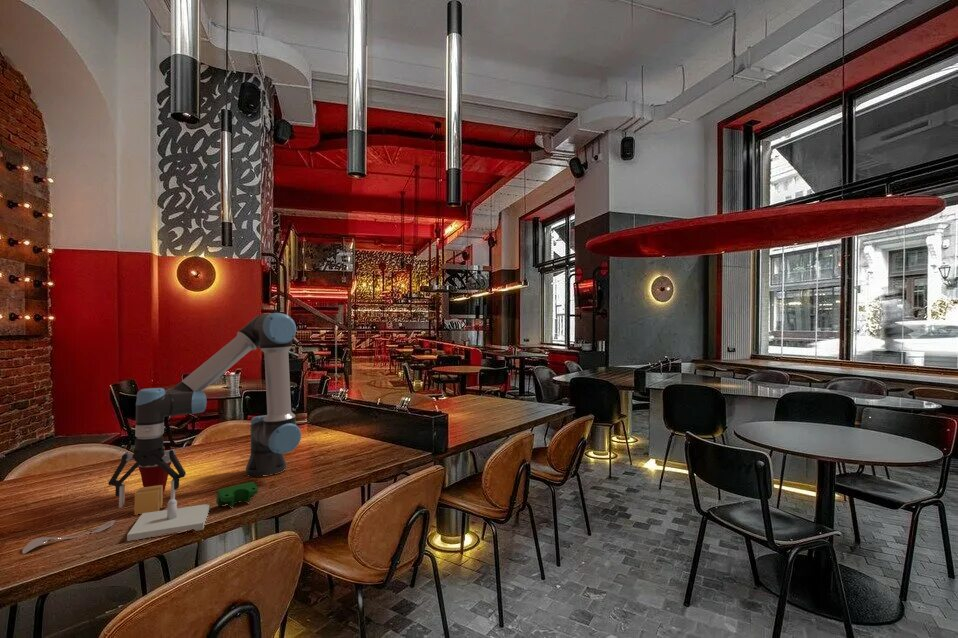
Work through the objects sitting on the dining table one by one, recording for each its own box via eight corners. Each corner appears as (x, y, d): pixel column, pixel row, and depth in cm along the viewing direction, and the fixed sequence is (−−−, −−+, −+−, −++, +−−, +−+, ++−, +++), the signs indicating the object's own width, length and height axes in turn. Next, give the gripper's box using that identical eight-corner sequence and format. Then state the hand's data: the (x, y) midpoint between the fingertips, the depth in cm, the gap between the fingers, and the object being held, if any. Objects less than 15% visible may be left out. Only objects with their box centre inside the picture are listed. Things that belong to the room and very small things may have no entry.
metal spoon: (112, 511, 136) (117, 515, 134) (113, 523, 136) (118, 527, 134) (19, 541, 120) (23, 546, 117) (20, 554, 120) (24, 560, 117)
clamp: (227, 522, 147) (217, 502, 144) (221, 513, 151) (211, 493, 148) (263, 499, 155) (255, 479, 151) (257, 491, 159) (248, 471, 155)
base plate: (210, 509, 147) (210, 486, 147) (203, 529, 132) (203, 503, 132) (142, 519, 139) (142, 494, 139) (127, 542, 125) (127, 514, 125)
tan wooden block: (162, 505, 150) (162, 484, 151) (158, 512, 145) (158, 490, 145) (139, 508, 148) (140, 487, 148) (134, 515, 142) (134, 493, 142)
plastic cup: (132, 500, 155) (133, 465, 155) (139, 490, 164) (139, 457, 164) (170, 495, 160) (171, 461, 160) (174, 485, 169) (175, 453, 169)
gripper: (97, 442, 138) (94, 513, 138) (192, 435, 149) (191, 501, 148) (105, 437, 145) (103, 504, 144) (196, 431, 155) (194, 493, 155)
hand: (147, 502), depth 146 cm, fingers open, 13 cm apart
